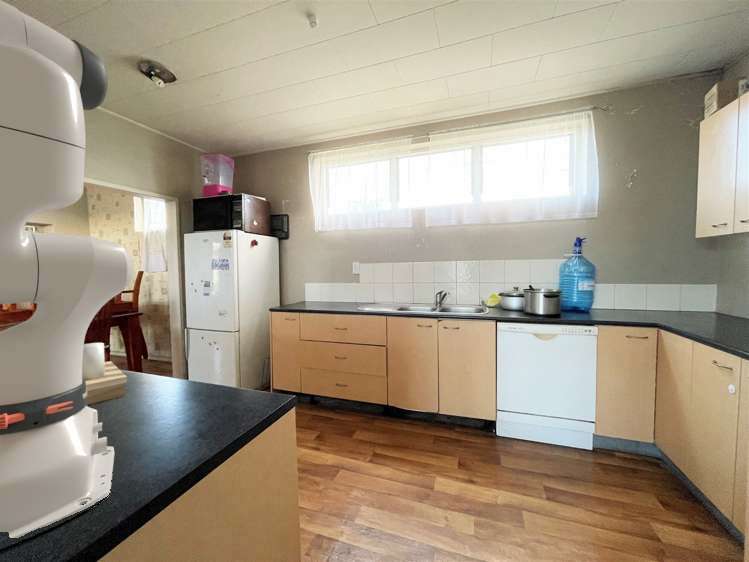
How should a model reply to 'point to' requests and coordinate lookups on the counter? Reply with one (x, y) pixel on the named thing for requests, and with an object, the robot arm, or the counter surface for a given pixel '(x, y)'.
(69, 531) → the counter surface
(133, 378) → the counter surface
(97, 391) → the wooden board
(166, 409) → the counter surface
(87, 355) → the white rounded block
